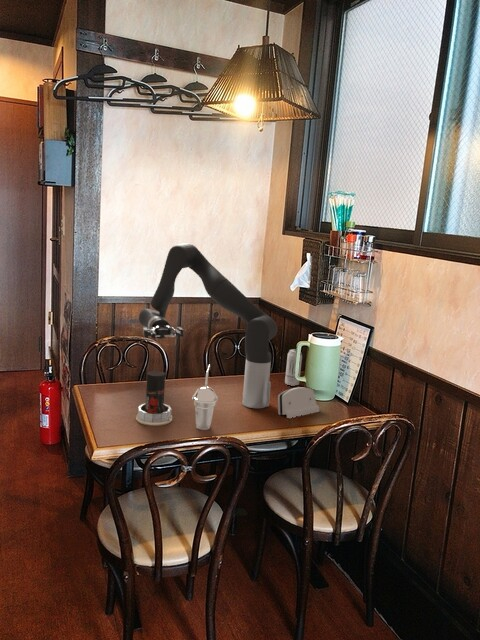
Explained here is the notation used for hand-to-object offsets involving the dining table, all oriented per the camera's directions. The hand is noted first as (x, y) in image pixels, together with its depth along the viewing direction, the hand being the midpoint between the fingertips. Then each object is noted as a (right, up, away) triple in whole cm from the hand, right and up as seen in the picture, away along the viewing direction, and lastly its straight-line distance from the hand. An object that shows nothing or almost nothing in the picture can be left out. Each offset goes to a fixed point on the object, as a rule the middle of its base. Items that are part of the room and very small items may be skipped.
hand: (166, 336), depth 191 cm
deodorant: (-3, -27, -10) cm, 29 cm away
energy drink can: (+48, -22, +38) cm, 65 cm away
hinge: (+47, -28, +8) cm, 55 cm away
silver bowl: (-3, -27, -10) cm, 29 cm away
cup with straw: (+14, -30, -14) cm, 35 cm away
